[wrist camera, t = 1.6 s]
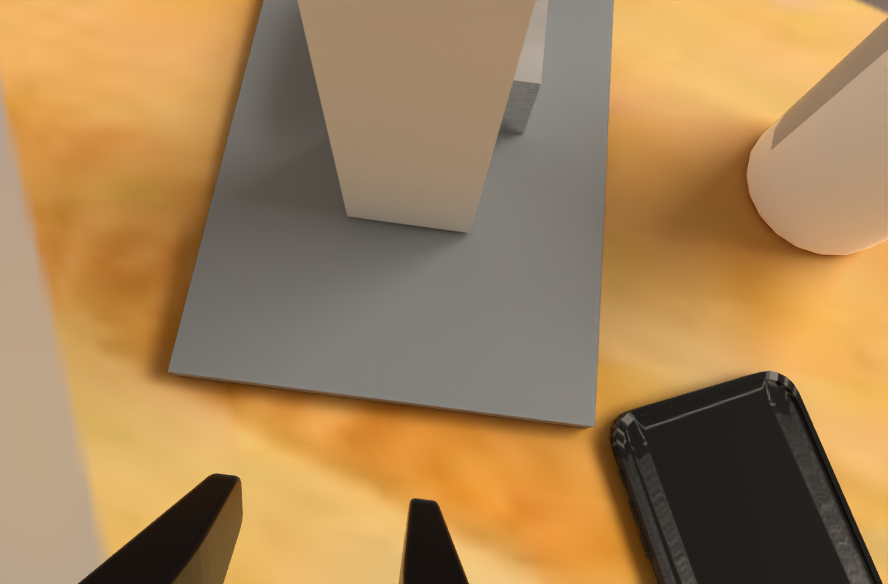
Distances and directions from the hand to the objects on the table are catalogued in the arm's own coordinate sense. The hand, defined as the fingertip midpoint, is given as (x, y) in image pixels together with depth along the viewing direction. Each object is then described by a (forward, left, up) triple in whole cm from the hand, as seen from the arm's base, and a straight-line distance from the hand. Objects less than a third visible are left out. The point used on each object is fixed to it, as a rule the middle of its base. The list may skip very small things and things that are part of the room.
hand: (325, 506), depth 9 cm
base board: (+13, 0, -14) cm, 19 cm away
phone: (-2, -15, -14) cm, 21 cm away
